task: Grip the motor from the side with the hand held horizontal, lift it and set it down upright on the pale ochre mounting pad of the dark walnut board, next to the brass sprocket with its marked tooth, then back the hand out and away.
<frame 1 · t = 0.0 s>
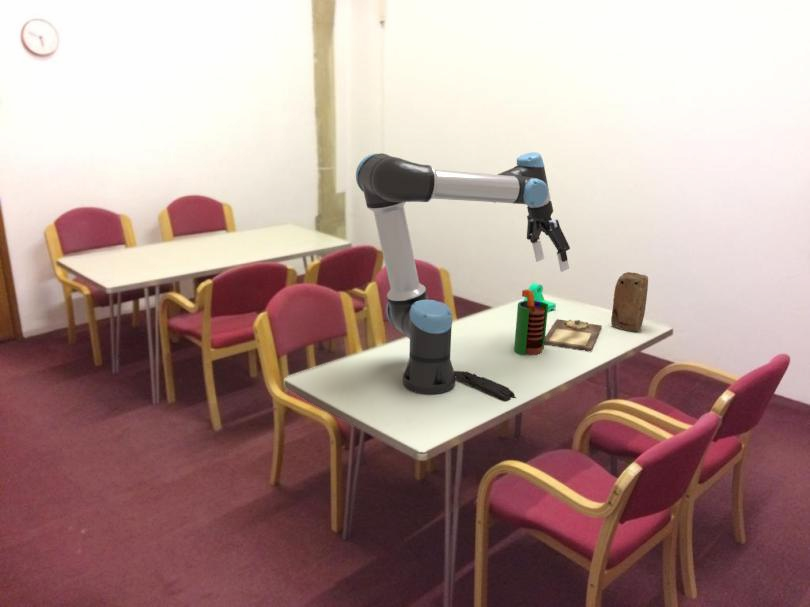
hand: (552, 264, 216), 28 cm above the table, tool tilted 20°, fingers open, 13 cm apart
motor: (528, 351, 220), on the table
block: (625, 328, 243), on the table
camera mount: (538, 311, 261), on the table
mounting board: (572, 336, 234), on the table
wood: (483, 388, 193), on the table
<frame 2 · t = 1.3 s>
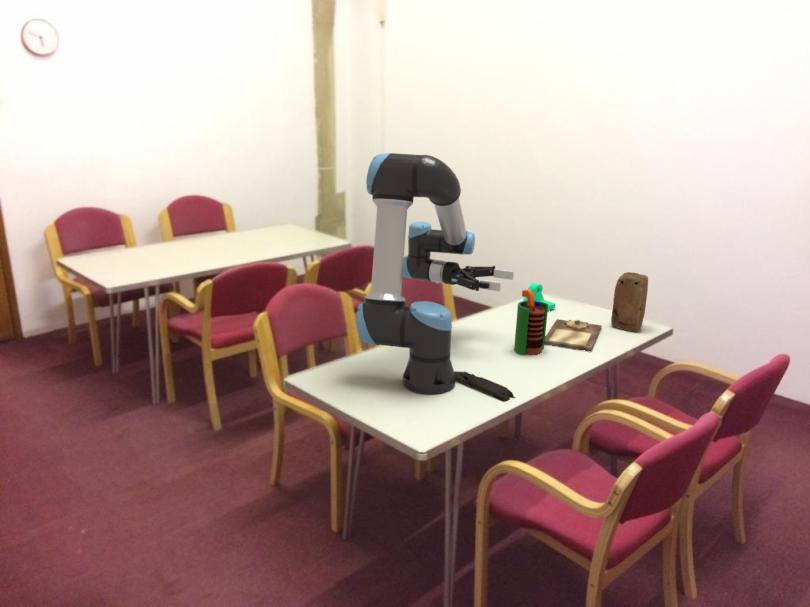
hand: (506, 281, 216), 23 cm above the table, tool horizontal, fingers open, 13 cm apart
nothing on the table moved.
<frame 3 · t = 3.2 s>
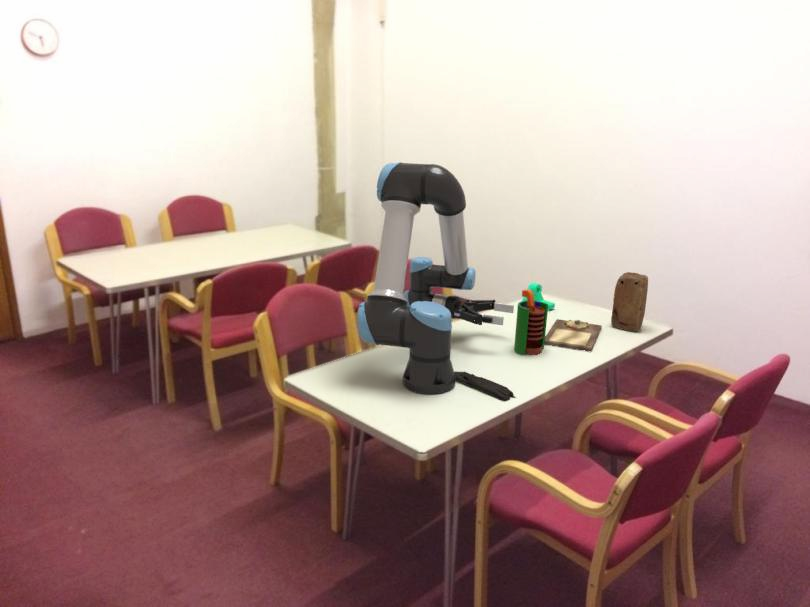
hand: (508, 314, 220), 11 cm above the table, tool horizontal, fingers open, 13 cm apart
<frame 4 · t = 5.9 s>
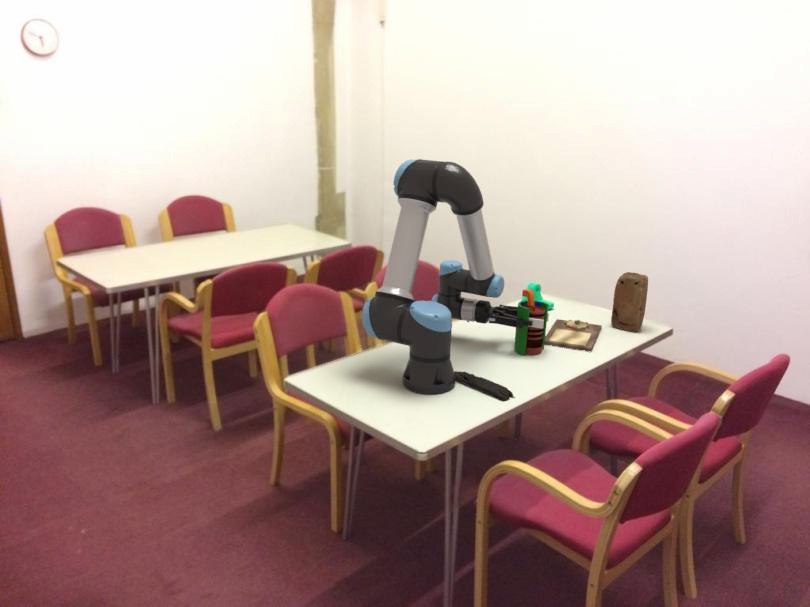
hand: (545, 320, 215), 11 cm above the table, tool horizontal, fingers closed on motor, 7 cm apart
motor: (528, 350, 220), on the table, touching gripper
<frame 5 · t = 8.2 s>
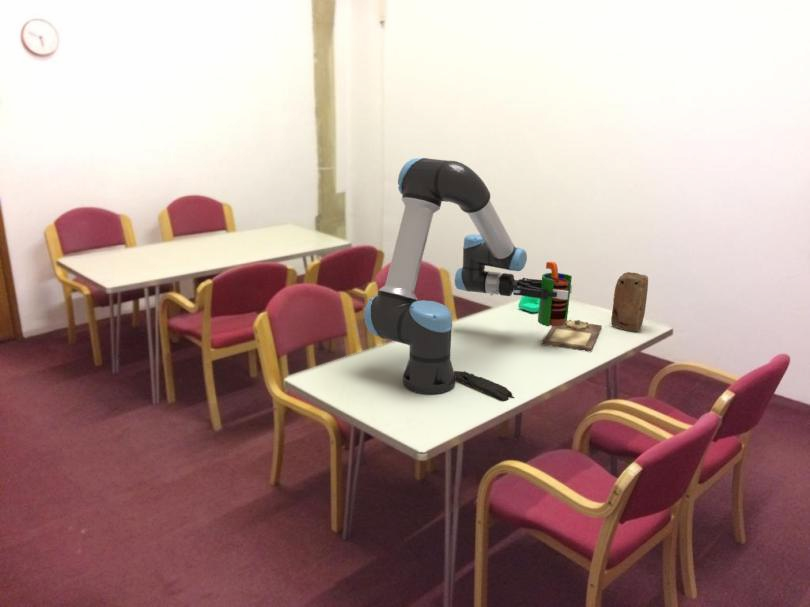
hand: (569, 292, 219), 19 cm above the table, tool horizontal, fingers closed on motor, 7 cm apart
motor: (551, 322, 224), point 8 cm above the table, touching gripper
when the fingers open (14 cm above the table, at t = 10.6 s): motor drops 1 cm, resting on mounting board.
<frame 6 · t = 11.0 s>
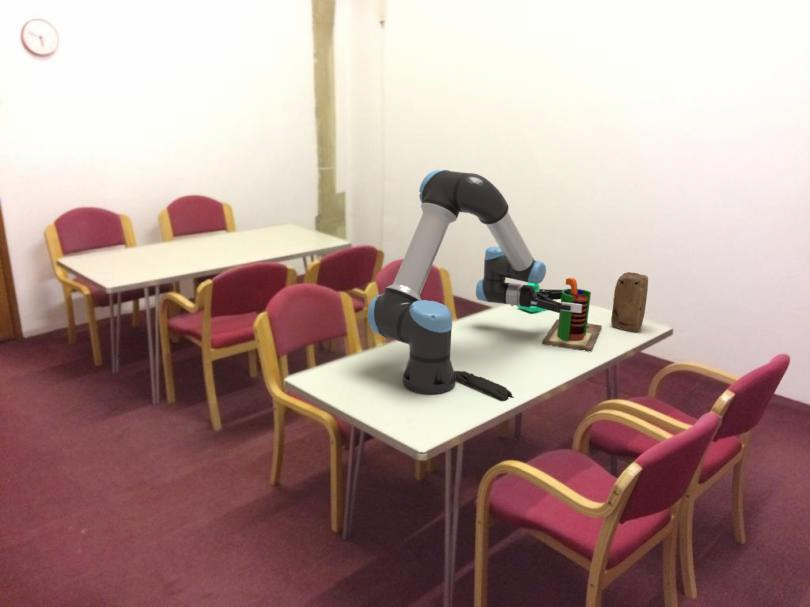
hand: (584, 303, 224), 14 cm above the table, tool horizontal, fingers open, 12 cm apart
motor: (570, 337, 229), point 1 cm above the table, touching mounting board
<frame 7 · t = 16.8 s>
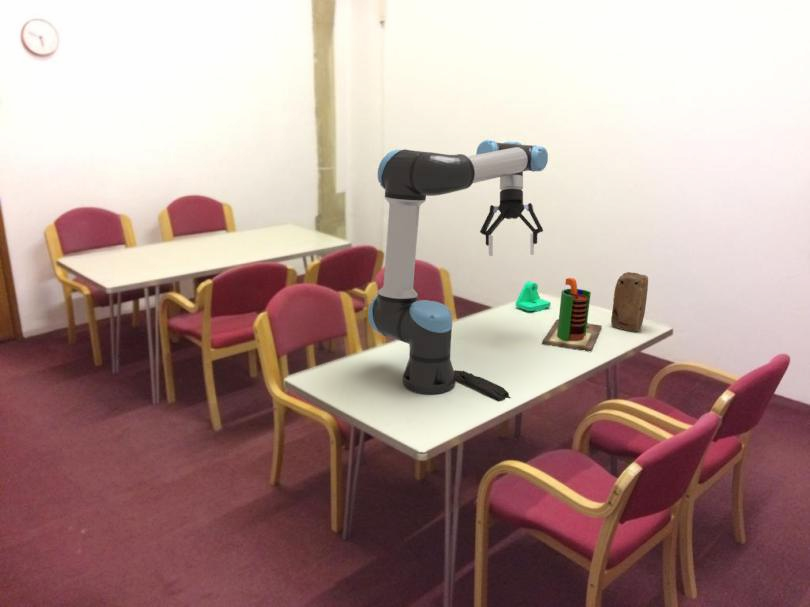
hand: (511, 254, 220), 30 cm above the table, tool tilted 20°, fingers open, 13 cm apart
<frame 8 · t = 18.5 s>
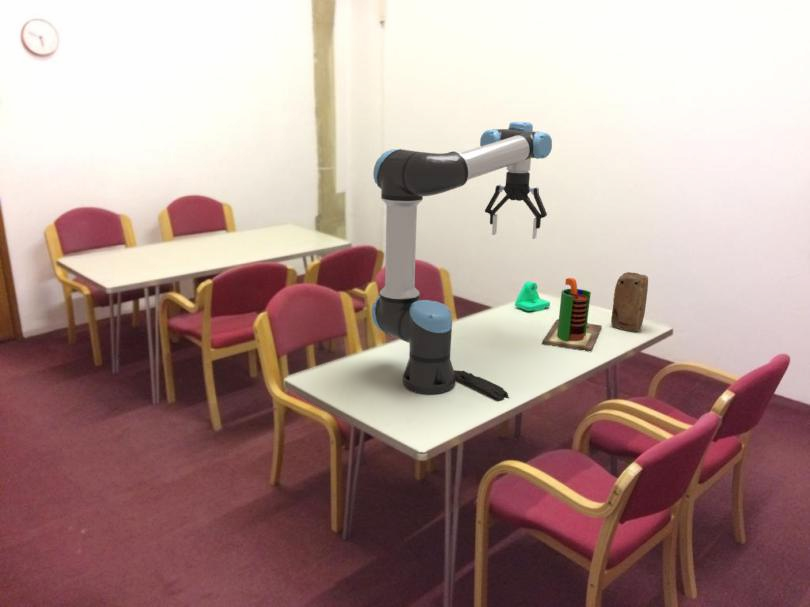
hand: (514, 236, 224), 35 cm above the table, tool pointing down, fingers open, 13 cm apart
at the end: motor inside the target area (0.2 cm from its centre), point 1.2 cm above the table; motor tilted 0°; the gripper is holding nothing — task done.
